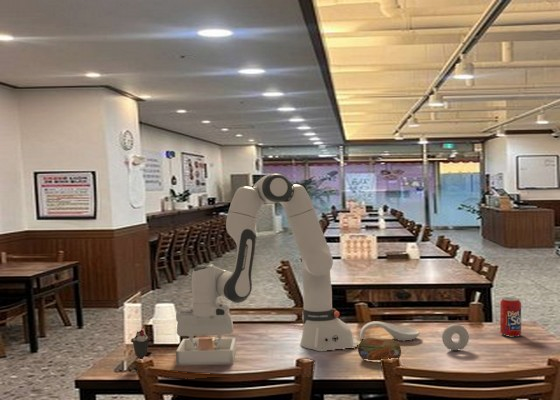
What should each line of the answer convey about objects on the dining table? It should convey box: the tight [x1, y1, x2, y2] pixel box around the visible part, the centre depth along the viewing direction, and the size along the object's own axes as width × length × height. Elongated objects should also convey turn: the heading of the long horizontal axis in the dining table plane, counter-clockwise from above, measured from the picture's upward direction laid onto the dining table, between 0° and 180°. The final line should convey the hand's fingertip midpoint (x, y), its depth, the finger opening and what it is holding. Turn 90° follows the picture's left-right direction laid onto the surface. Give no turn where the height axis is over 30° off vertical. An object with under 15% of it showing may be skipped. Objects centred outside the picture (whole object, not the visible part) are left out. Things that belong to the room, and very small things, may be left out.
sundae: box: [130, 326, 151, 360], centre depth 202 cm, size 7×7×15 cm
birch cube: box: [211, 336, 217, 350], centre depth 215 cm, size 5×5×5 cm
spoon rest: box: [359, 320, 420, 341], centre depth 230 cm, size 24×12×7 cm, turn 88°
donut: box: [441, 323, 470, 351], centre depth 213 cm, size 10×4×10 cm, turn 95°
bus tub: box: [175, 337, 237, 367], centre depth 211 cm, size 20×16×5 cm
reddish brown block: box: [198, 336, 213, 350], centre depth 208 cm, size 5×5×7 cm
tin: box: [357, 337, 402, 361], centre depth 203 cm, size 15×3×8 cm, turn 68°
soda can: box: [499, 296, 522, 337], centre depth 231 cm, size 8×8×15 cm
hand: (205, 347), depth 208 cm, fingers open, 6 cm apart
